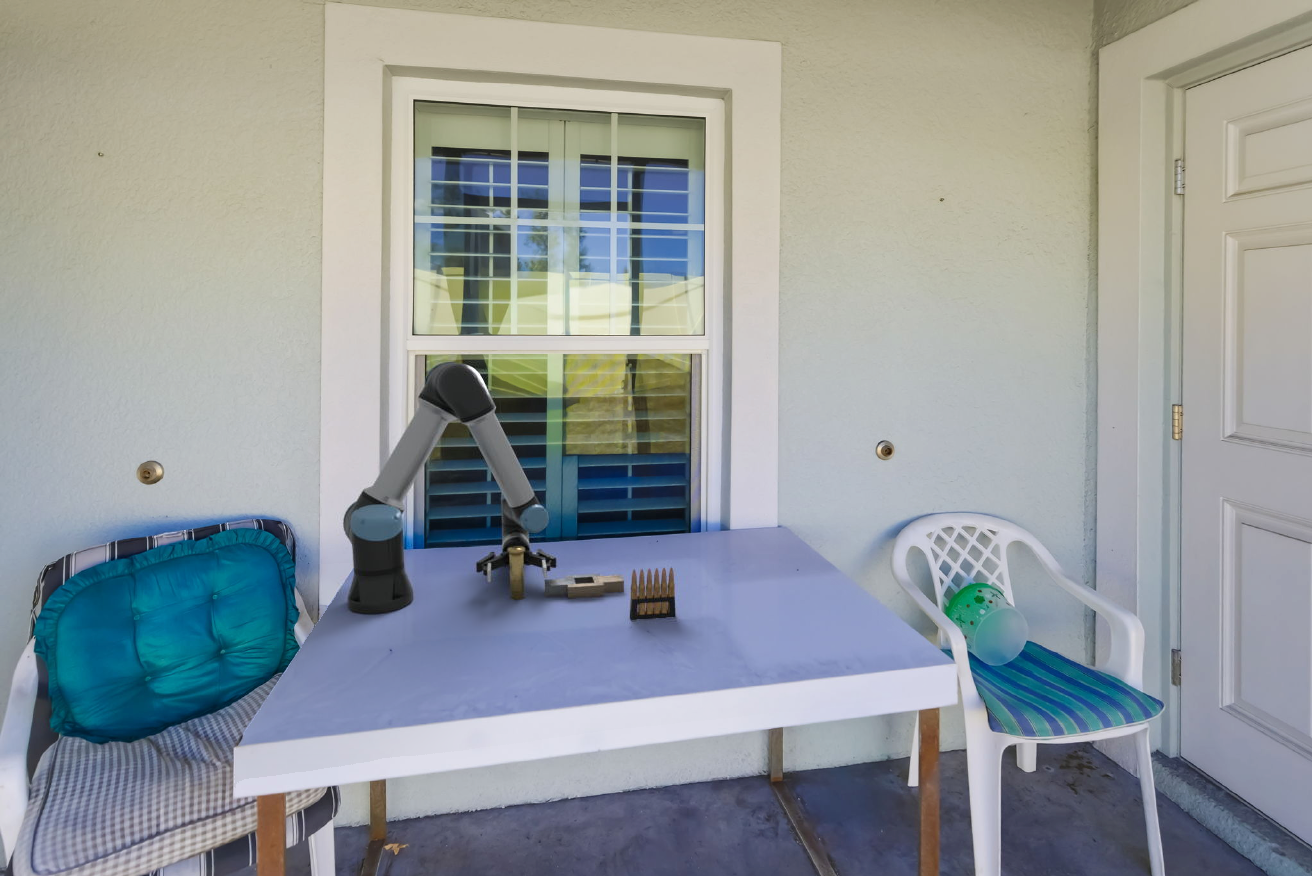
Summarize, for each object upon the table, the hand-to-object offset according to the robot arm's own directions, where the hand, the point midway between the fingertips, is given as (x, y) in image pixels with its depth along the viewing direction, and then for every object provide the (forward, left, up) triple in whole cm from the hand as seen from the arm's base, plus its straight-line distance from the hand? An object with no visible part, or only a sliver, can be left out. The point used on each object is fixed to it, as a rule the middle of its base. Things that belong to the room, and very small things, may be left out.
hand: (517, 574), depth 172 cm
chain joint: (+17, +4, -7) cm, 19 cm away
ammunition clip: (+31, -16, -7) cm, 36 cm away
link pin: (0, +3, -7) cm, 8 cm away
